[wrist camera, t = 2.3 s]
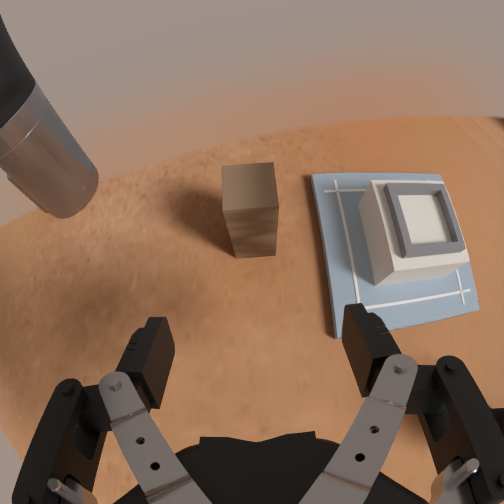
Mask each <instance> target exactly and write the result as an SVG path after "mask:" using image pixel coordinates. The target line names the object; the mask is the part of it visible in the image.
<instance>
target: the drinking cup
mask: <svg viewBox="0 0 504 504" xmlns="http://www.w3.org/2000/svg"><path fill="white" fill-rule="evenodd" d="M490 410H491V412H492V414H493V416H494V418H495V420H496V422H497V424H498V426H499V428H500V430H501V432H502V434H503V436H504V408H497V409H490Z"/></svg>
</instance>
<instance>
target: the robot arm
mask: <svg viewBox="0 0 504 504" xmlns="http://www.w3.org/2000/svg"><path fill="white" fill-rule="evenodd" d="M0 167H1V168H2V169H3V170H4V171H5V172H6V173H7V178H8V180H9V181H10V182H11V183H13V184H14V185H15V186H16V187H17V188H18V189H19V190H20V191H21V192H22V193H24V194H25V195H26V196H27V197H28V198H29V199H30V200H31V201H33V202H34V203H35V204H36V205H37V206H38V207H40V208H41V209H42V210H43V211H44V212H50V213H51V214H52V215H53V216H55V217H57V218H66V217H69V216H72V215H74V214H75V213H77V212H78V211H80V210H81V209H82V208H83V207H84V206H85V205H86V204H87V203H88V202H89V200H90V199H91V197H92V196H93V194H94V192H95V190H96V187H97V184H98V179H99V178H98V171H97V169H96V167H95V166H94V165H93V163H92V162H91V161H90V159H89V158H88V157H87V155H86V154H85V153H84V151H83V150H82V148H81V147H80V145H79V144H78V143H77V141H76V140H75V139H74V137H73V136H72V134H71V133H70V131H69V130H68V129H67V127H66V126H65V125H64V123H63V122H62V120H61V119H60V117H59V116H58V114H57V113H56V111H55V110H54V108H53V107H52V105H51V104H50V102H49V101H48V99H47V98H46V97H45V95H44V93H43V92H42V90H41V89H40V87H39V86H38V84H37V83H36V81H35V80H34V78H33V76H32V75H31V73H30V72H29V70H28V68H27V67H26V65H25V63H24V62H23V60H22V58H21V57H20V55H19V53H18V51H17V50H16V48H15V46H14V44H13V42H12V40H11V38H10V36H9V34H8V32H7V29H6V27H5V25H4V23H3V21H2V18H1V15H0ZM341 336H342V343H343V346H344V349H345V351H346V354H347V357H348V360H349V362H350V365H351V368H352V370H353V373H354V376H355V379H356V382H357V384H358V387H359V390H360V393H361V396H362V397H367V398H366V399H365V401H364V403H363V405H362V407H361V409H360V411H359V413H358V415H357V416H356V418H355V420H354V422H353V424H352V425H351V427H350V429H349V431H348V432H347V434H346V436H345V438H344V439H343V441H342V443H341V444H338V443H336V442H333V441H329V440H325V439H319V438H316V436H315V431H311V432H303V433H294V434H286V435H282V436H279V437H276V438H272V439H269V440H265V441H261V442H251V441H245V440H240V439H234V438H230V437H200V442H199V444H197V445H193V446H190V447H187V448H185V449H182V450H181V451H179V452H177V453H176V454H174V453H173V451H172V450H171V448H170V447H169V445H168V444H167V442H166V440H165V439H164V437H163V436H162V434H161V433H160V431H159V429H158V428H157V426H156V424H155V423H154V421H153V420H152V418H151V416H150V414H149V413H150V410H151V408H153V409H160V406H161V402H162V398H163V395H164V391H165V387H166V383H167V380H168V376H169V372H170V369H171V365H172V362H173V358H174V354H175V345H174V341H173V338H172V334H171V331H170V327H169V324H168V321H167V318H166V317H149V318H148V320H147V323H146V325H145V327H144V328H139V329H138V330H137V331H136V332H135V333H134V334H133V335H132V336H131V339H130V341H129V344H128V345H127V347H126V350H125V351H124V353H123V355H122V358H121V360H120V362H119V364H118V366H117V368H116V371H115V372H112V373H109V374H107V375H106V376H104V377H103V378H102V379H101V381H100V383H99V384H98V385H92V386H85V387H83V386H82V385H81V383H80V382H79V381H78V380H77V379H66V380H64V381H62V382H60V383H59V384H58V385H57V386H56V388H55V390H54V392H53V394H52V396H51V398H50V400H49V403H48V405H47V407H46V409H45V411H44V413H43V416H42V418H41V420H40V422H39V425H38V427H37V429H36V432H35V434H34V436H33V439H32V441H31V444H30V446H29V449H28V451H27V454H26V456H25V459H24V462H23V464H22V468H21V470H20V473H19V476H18V479H17V482H16V485H15V488H14V491H13V494H12V504H98V502H97V499H96V498H95V496H94V495H93V494H92V490H93V486H94V481H95V477H96V473H97V469H98V465H99V461H100V457H101V453H102V449H103V445H104V442H105V438H106V435H107V431H113V433H114V435H115V437H116V439H117V441H118V444H119V446H120V448H121V450H122V452H123V454H124V456H125V458H126V460H127V462H128V464H129V466H130V468H131V470H132V472H133V474H134V476H135V477H136V479H137V481H138V483H139V484H138V485H137V486H135V487H134V488H133V489H131V490H130V491H129V492H128V493H126V494H125V495H124V496H122V497H121V498H120V499H118V500H117V501H116V502H114V503H113V504H499V503H501V502H502V501H504V436H503V434H502V432H501V430H500V428H499V426H498V424H497V422H496V420H495V418H494V416H493V414H492V412H491V410H490V408H489V406H488V404H487V402H486V400H485V399H484V397H483V395H482V393H481V391H480V390H479V388H478V386H477V384H476V383H475V381H474V379H473V377H472V376H471V374H470V372H469V371H468V369H467V367H466V366H465V364H464V363H463V361H462V360H460V359H459V358H457V357H455V356H443V357H441V358H440V359H439V360H438V361H437V363H436V365H417V363H416V362H415V360H414V359H413V358H411V357H409V356H407V355H403V354H402V353H401V351H400V349H399V348H398V346H397V344H396V342H395V341H394V339H393V337H392V335H391V334H390V333H389V330H388V329H387V327H386V325H385V324H384V322H383V320H382V319H381V318H380V317H379V316H378V315H376V314H375V313H374V312H371V313H368V312H367V311H366V309H365V307H364V305H363V304H362V303H355V304H347V305H345V307H344V315H343V324H342V332H341ZM404 414H417V415H418V417H419V420H420V423H421V426H422V428H423V431H424V434H425V437H426V440H427V443H428V446H429V449H430V452H431V455H432V458H433V461H434V464H435V467H436V470H437V474H438V476H437V477H436V478H435V479H434V481H433V483H432V485H431V500H430V502H429V503H428V502H427V501H426V500H424V499H423V498H422V497H420V496H418V495H416V494H415V493H413V492H411V491H410V490H408V489H407V488H405V487H403V486H402V485H400V484H399V483H397V482H395V481H394V480H392V479H391V478H389V477H388V476H386V475H385V474H383V473H382V472H380V469H381V467H382V465H383V463H384V461H385V459H386V457H387V455H388V452H389V450H390V448H391V446H392V443H393V441H394V439H395V436H396V434H397V432H398V429H399V427H400V424H401V421H402V419H403V416H404ZM76 425H77V426H76ZM75 428H76V429H75ZM74 431H75V432H74Z"/></svg>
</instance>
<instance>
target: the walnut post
mask: <svg viewBox="0 0 504 504" xmlns="http://www.w3.org/2000/svg"><path fill="white" fill-rule="evenodd" d="M222 211H223V214H224V218H225V221H226V225H227V228H228V232H229V235H230V239H231V242H232V246H233V249H234V253H235V256H236V258H250V257H263V256H275V255H276V241H277V227H278V212H279V203H278V195H277V187H276V179H275V172H274V164H273V162H270V163H256V164H243V165H232V166H222Z"/></svg>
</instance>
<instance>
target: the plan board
mask: <svg viewBox="0 0 504 504" xmlns="http://www.w3.org/2000/svg"><path fill="white" fill-rule="evenodd" d="M311 185H312V190H313V195H314V200H315V206H316V211H317V216H318V222H319V228H320V234H321V240H322V246H323V252H324V259H325V265H326V272H327V279H328V287H329V294H330V302H331V310H332V319H333V328H334V337H335V339H338V338H342V336H341V332H342V324H343V315H344V307H345V305H347V304H355V303H362V304H363V305H364V307H365V309H366V311H367V312H368V313H371V312H374V313H375V314H376V315H378V316H379V317H380V318H381V319H382V320H383V322H384V324H385V325H386V327H387V329H388V330H395V329H400V328H405V327H411V326H415V325H420V324H425V323H430V322H434V321H439V320H443V319H447V318H451V317H455V316H459V315H463V314H467V313H471V312H474V311H477V310H479V304H478V298H477V293H476V288H475V284H474V279H473V275H472V270H471V266H470V260H469V256H468V252H467V249H466V245H465V242H464V238H463V235H462V232H461V228H460V225H459V222H458V219H457V216H456V213H455V211H454V208H453V205H452V202H451V199H450V197H449V194H448V192H447V189H446V187H445V184H444V182H443V181H442V178H441V176H440V174H419V173H320V174H312V175H311Z"/></svg>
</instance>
